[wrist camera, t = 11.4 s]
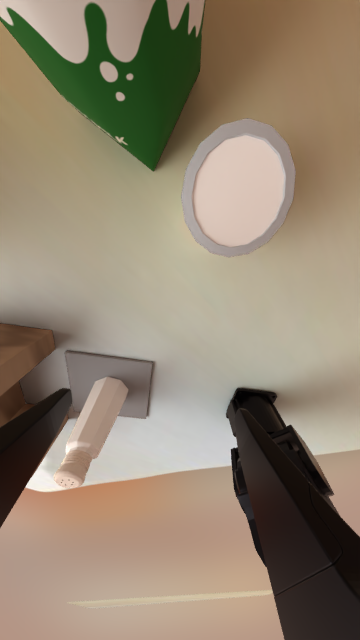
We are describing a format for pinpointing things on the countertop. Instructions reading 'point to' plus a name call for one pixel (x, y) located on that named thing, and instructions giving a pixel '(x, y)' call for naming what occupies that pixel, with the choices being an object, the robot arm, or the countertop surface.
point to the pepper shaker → (91, 430)
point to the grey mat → (97, 367)
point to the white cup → (238, 187)
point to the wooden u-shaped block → (20, 367)
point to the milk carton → (116, 61)
